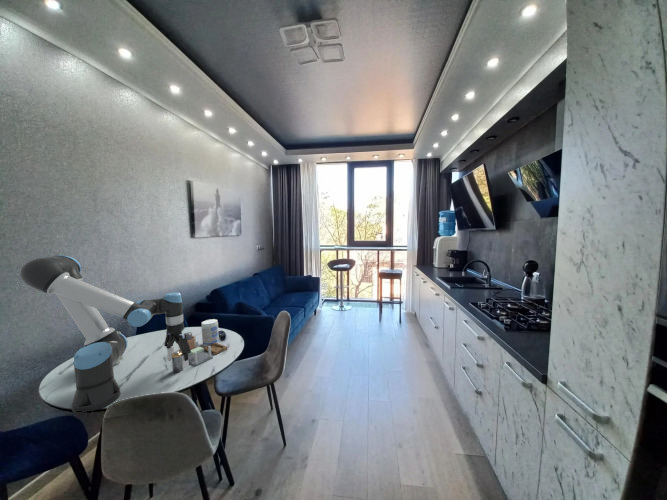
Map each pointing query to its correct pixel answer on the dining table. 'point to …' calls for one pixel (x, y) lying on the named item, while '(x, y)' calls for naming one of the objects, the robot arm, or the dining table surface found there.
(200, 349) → the checker pad
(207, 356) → the checker cradle
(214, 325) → the supplement tub
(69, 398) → the dining table surface
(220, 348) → the brown wooden tray
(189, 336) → the orange canister
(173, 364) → the cell
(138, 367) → the dining table surface
